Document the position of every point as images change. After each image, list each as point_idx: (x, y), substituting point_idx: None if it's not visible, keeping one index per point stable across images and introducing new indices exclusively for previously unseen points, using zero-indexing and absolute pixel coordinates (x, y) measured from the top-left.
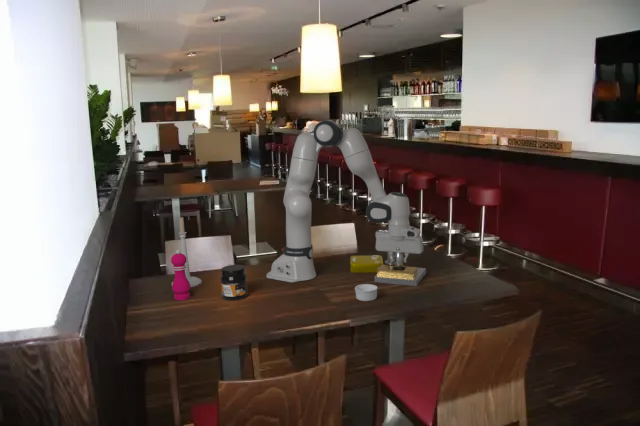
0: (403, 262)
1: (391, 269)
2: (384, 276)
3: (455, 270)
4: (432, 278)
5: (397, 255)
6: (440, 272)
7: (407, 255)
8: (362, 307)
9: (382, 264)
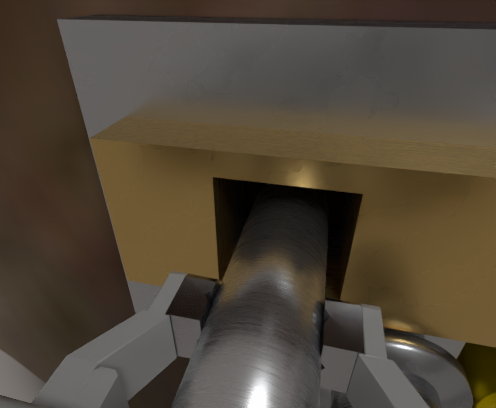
0: (201, 276)
1: (373, 192)
2: (461, 79)
3: (54, 343)
4: (84, 227)
5: (259, 379)
6: (97, 320)
7: (72, 357)
8: None
9: (481, 390)
